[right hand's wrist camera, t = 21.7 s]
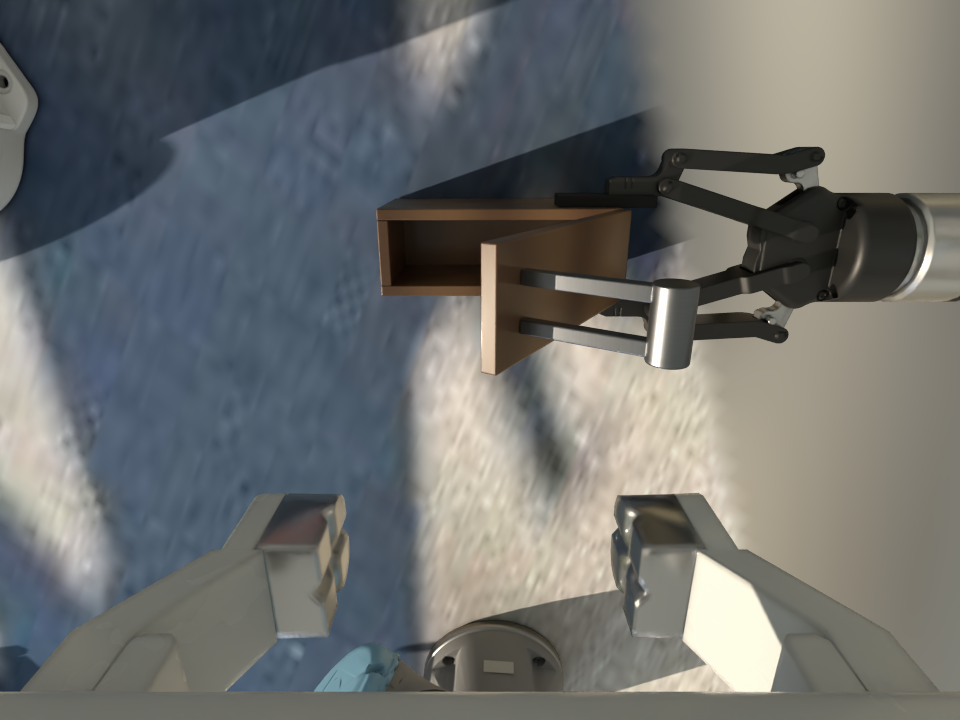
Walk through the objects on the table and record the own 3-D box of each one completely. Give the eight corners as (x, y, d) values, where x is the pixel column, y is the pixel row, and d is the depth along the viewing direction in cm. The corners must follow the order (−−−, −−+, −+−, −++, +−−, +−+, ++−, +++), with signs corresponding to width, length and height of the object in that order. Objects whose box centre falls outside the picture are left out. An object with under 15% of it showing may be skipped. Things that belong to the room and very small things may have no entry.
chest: (398, 271, 47) (381, 296, 39) (394, 198, 45) (375, 208, 37) (593, 271, 47) (616, 295, 39) (598, 198, 45) (624, 208, 37)
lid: (480, 372, 25) (669, 417, 21) (480, 242, 23) (688, 262, 19) (612, 296, 39) (745, 314, 34) (619, 208, 37) (761, 216, 32)
